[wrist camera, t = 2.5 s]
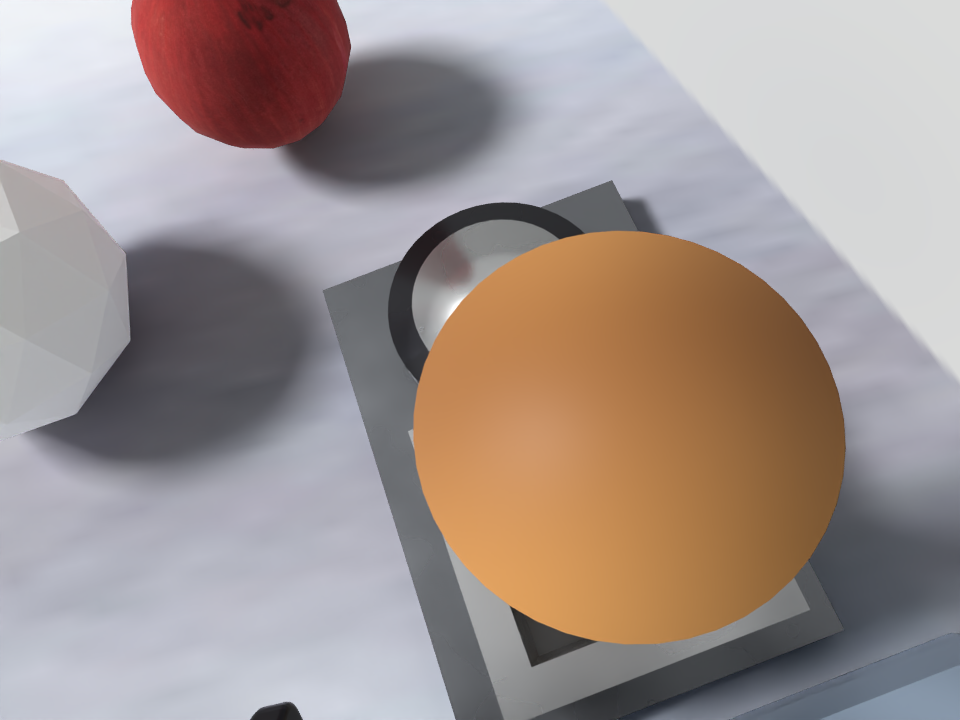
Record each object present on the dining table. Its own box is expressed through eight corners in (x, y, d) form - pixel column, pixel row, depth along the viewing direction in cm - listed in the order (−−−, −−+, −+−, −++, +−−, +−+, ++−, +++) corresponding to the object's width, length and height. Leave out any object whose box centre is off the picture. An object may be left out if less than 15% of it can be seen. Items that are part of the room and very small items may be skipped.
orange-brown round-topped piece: (707, 585, 17) (935, 544, 6) (541, 650, 17) (496, 715, 6) (633, 423, 18) (720, 177, 8) (480, 483, 18) (364, 313, 8)
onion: (345, 32, 25) (249, -215, 17) (400, 155, 23) (319, -65, 15) (192, 96, 25) (30, -126, 17) (234, 225, 23) (71, 36, 15)
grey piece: (829, 629, 17) (916, 635, 13) (478, 765, 17) (448, 817, 13) (610, 199, 21) (620, 98, 17) (333, 304, 21) (275, 229, 17)
